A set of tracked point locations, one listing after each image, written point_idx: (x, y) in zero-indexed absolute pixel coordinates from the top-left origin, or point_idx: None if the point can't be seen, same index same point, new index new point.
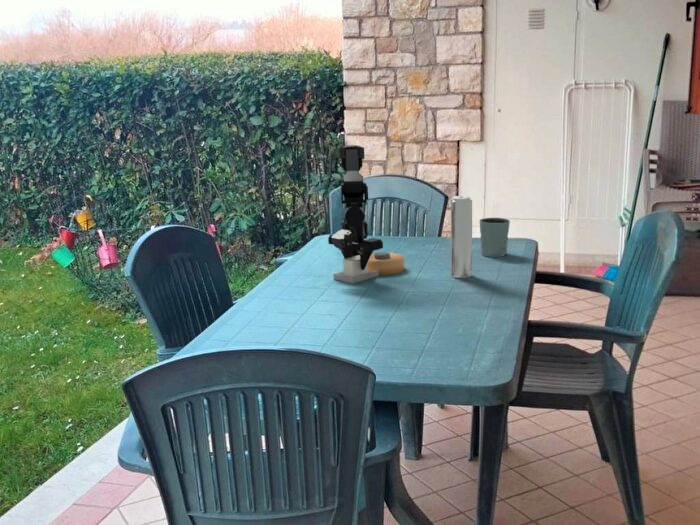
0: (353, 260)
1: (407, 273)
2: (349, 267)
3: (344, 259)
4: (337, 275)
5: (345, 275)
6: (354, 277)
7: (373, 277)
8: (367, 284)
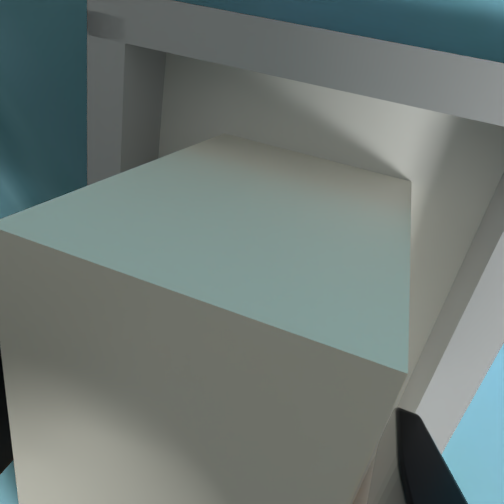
0: (29, 318)
1: (13, 480)
2: (209, 198)
3: (354, 379)
4: (499, 63)
5: (302, 80)
6: (95, 31)
7: None
8: (3, 65)
